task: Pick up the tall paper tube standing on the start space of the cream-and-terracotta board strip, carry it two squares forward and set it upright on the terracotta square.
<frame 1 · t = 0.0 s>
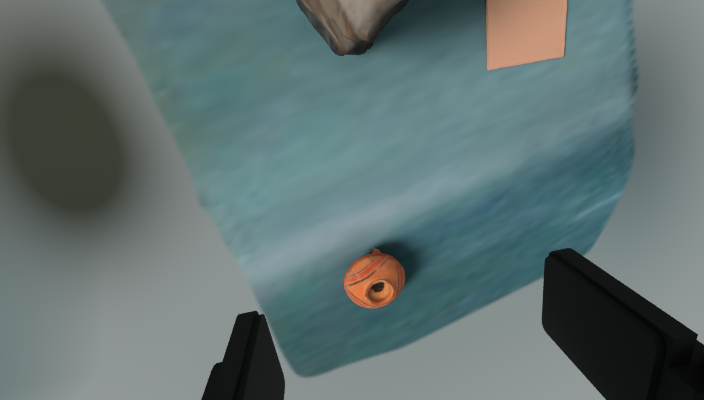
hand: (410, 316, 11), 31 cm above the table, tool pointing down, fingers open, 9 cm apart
pot: (370, 266, 47), on the table
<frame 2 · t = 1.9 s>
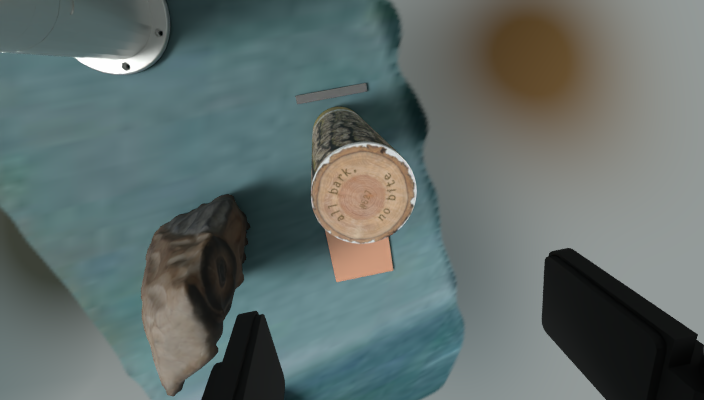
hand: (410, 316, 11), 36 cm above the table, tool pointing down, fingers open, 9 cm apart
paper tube: (338, 132, 45), on the table
fossil rock chunk: (209, 232, 48), on the table
board: (349, 192, 48), on the table
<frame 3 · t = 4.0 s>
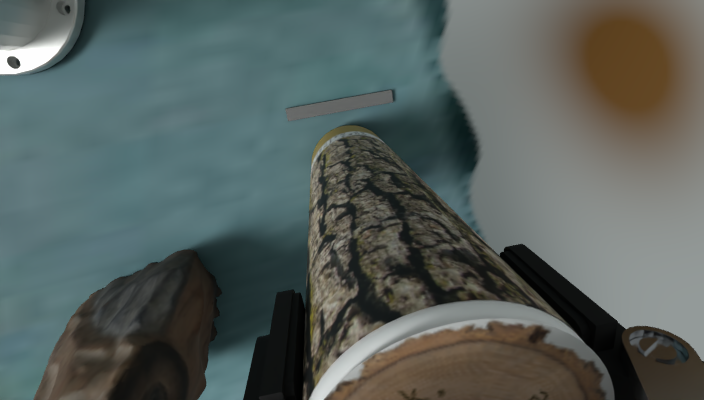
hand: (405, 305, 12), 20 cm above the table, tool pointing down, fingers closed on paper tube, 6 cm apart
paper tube: (349, 161, 31), on the table, touching gripper
fossil rock chunk: (164, 300, 34), on the table
board: (363, 244, 34), on the table
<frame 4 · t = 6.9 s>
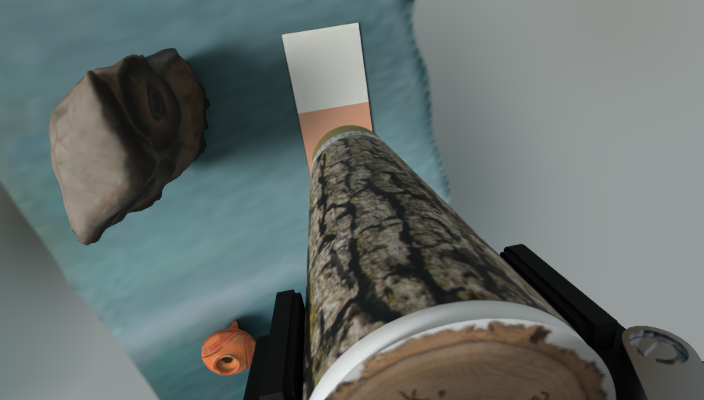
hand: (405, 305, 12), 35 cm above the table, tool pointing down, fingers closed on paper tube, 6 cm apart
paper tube: (349, 161, 31), point 15 cm above the table, touching gripper
fossil rock chunk: (162, 110, 41), on the table
board: (326, 65, 41), on the table
pot: (234, 334, 54), on the table
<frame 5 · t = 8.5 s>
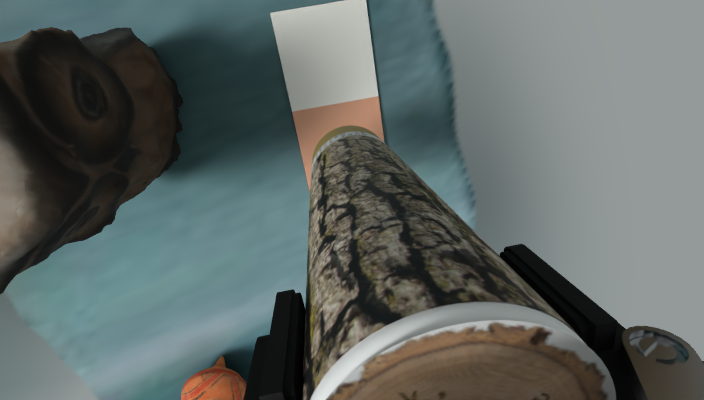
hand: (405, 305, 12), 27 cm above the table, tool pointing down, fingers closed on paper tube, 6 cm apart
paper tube: (349, 161, 31), point 6 cm above the table, touching gripper
fossil rock chunk: (124, 109, 33), on the table
board: (326, 51, 33), on the table
pot: (222, 371, 46), on the table
when the fingers open (22 cm above the table, at t = 10.0 s): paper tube drops 1 cm, resting on board.
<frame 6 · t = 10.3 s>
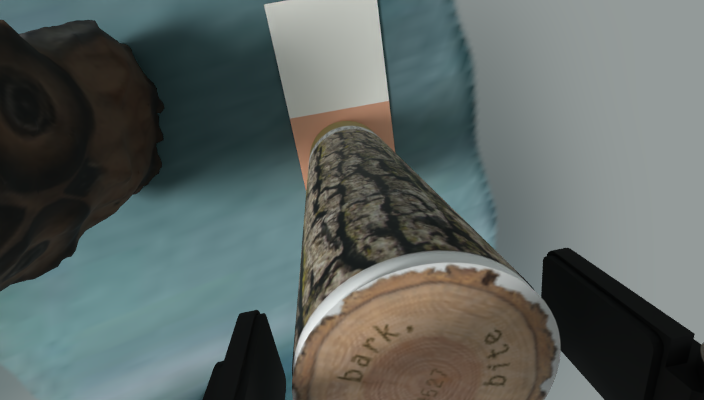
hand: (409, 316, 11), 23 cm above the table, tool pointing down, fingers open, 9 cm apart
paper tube: (345, 155, 32), resting on board
fossil rock chunk: (96, 115, 29), on the table
board: (329, 49, 29), on the table
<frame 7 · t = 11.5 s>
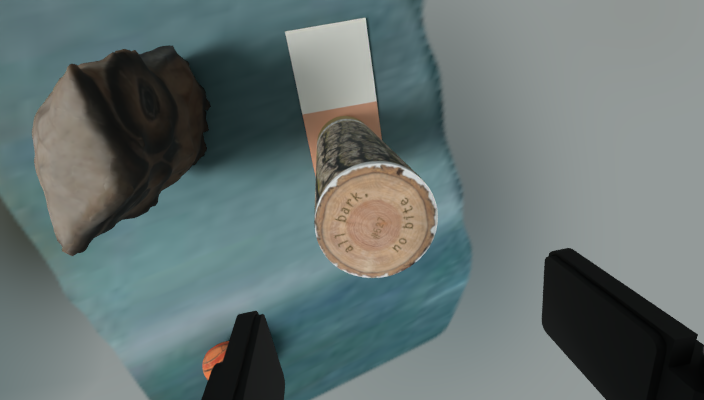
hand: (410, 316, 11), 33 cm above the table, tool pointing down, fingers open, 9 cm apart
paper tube: (344, 143, 42), resting on board
fossil rock chunk: (161, 112, 39), on the table
board: (331, 63, 39), on the table
pot: (237, 346, 51), on the table
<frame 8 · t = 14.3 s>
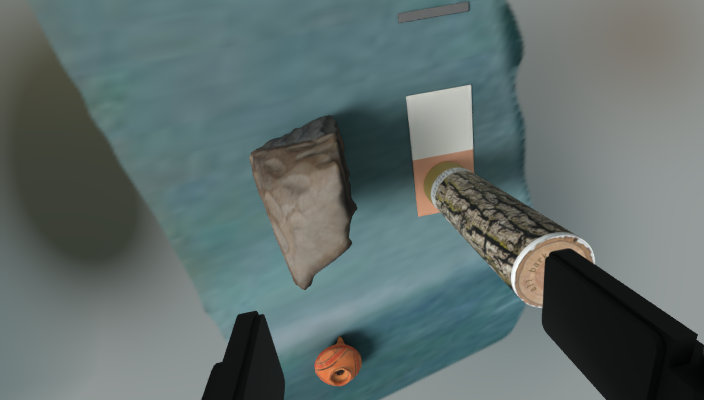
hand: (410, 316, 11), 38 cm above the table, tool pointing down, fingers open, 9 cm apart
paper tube: (443, 182, 51), resting on board
fossil rock chunk: (299, 159, 48), on the table
board: (440, 119, 48), on the table
pot: (337, 349, 60), on the table
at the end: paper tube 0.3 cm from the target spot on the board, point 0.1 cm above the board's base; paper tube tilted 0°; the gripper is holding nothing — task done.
